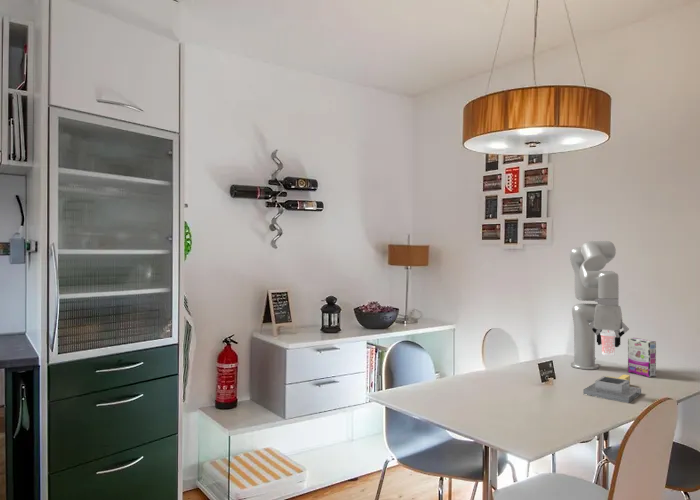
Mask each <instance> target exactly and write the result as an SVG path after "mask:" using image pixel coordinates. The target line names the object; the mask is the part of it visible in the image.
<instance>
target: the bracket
mask: <svg viewBox="0 0 700 500" xmlns="http://www.w3.org/2000/svg"><path fill="white" fill-rule="evenodd" d="M606 377H610V376H607V375H606ZM611 377H612V378H616V377H615V376H611ZM617 378H618V379H624V380H629V386H630V385H631V376H630V374H621V375H620V376H619V377H617Z"/></svg>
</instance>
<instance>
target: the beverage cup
mask: <svg viewBox="0 0 700 500" xmlns="http://www.w3.org/2000/svg"><path fill="white" fill-rule="evenodd" d="M600 335H601V355H603V356H610V357H613V356H615V351H616V347H615V337H616V334H615V332H614V331H610V330H607V331H602V332H600Z"/></svg>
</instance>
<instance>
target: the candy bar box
mask: <svg viewBox="0 0 700 500" xmlns="http://www.w3.org/2000/svg"><path fill="white" fill-rule="evenodd" d="M627 372H628V373H630V374H634V375H638V376H643V377H647V378H654V377H656V376H657V341H656V340H649V339H642V338H638V337H629V338H627Z"/></svg>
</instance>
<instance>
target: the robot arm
mask: <svg viewBox="0 0 700 500" xmlns="http://www.w3.org/2000/svg"><path fill="white" fill-rule="evenodd" d="M616 251H617V250H616V246H615V244H614V243H613V242H612V241H609V240H591V241H586V242H584V243H583V244H581V246H579V247H574V248H572V249H571V250H570V253H569V261H570V264H571V266H572V269H573V273H574V294H575V298H576V299H577V300H579V301H583V303H576V304H575V305H573V306H572V308H571V315H572V321H573V361H572V362H570V366H571V367H572V368H575V369H578V370H579V369H581V370H591V371H592V370H596V369H599V365H598V363H596V359H597V358H596V343H597V345H598V346H602V344H601V335H600V332H603V331H608V330H609V331H610V332H614V333H615V334H616V337H615V348H618V347H620V345H621V337H622V336H623V335H625V334H626V333H627V332H628V331H630V328H629V327H628V326H627V325H626V324H625V323H624V322H623V321H624V320H623V314H622V308H621V305H619V303H620V302H619V301H620V300H619V293H620V292H619V290H620V289H619V274H618V273H617V272H615V271H613V270H603V269H604V268H605V267H606V266H607V264H609V263H610V262H611V261H612V260H614V258H615V257H616V254H617V252H616ZM584 301H585V302H586V301H587V302H595V303H585V302H584Z"/></svg>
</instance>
